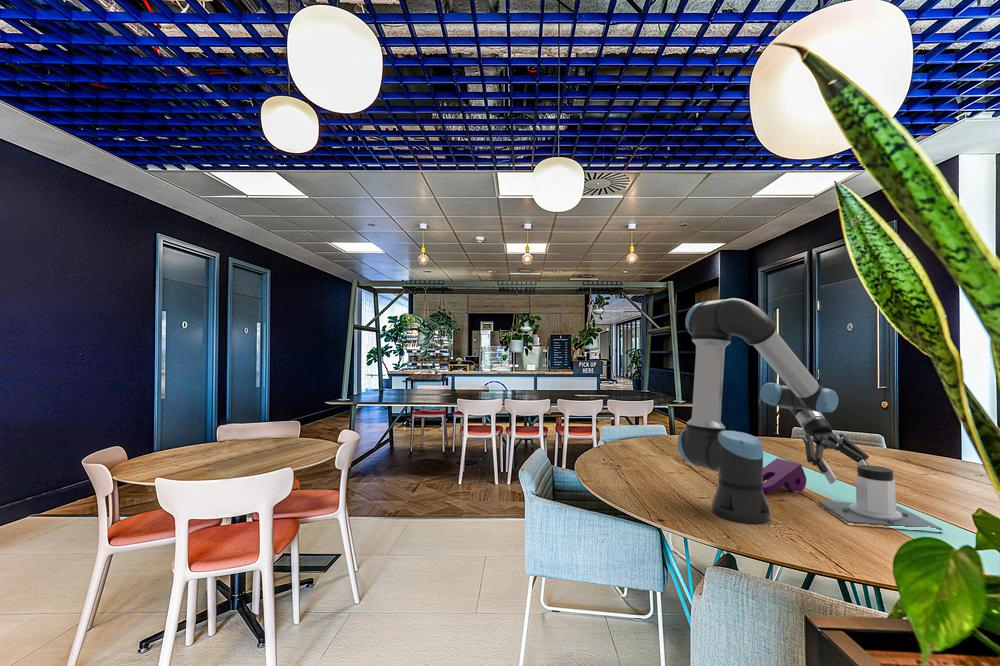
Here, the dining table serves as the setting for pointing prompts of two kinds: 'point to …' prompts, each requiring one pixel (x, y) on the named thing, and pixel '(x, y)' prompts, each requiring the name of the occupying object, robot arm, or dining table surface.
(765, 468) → the mounting bracket
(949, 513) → the dining table surface
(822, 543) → the dining table surface
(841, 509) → the board
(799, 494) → the dining table surface
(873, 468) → the jar
